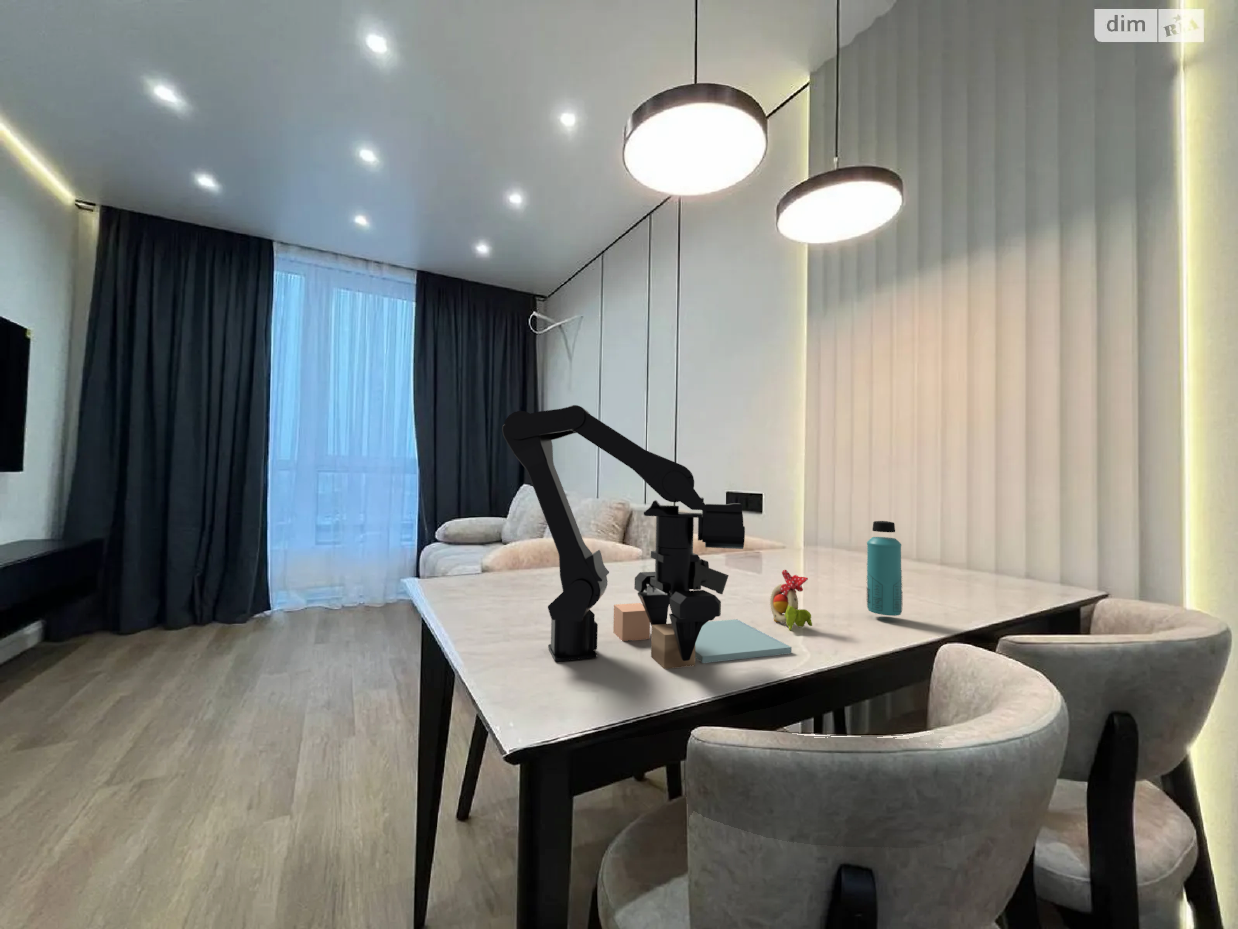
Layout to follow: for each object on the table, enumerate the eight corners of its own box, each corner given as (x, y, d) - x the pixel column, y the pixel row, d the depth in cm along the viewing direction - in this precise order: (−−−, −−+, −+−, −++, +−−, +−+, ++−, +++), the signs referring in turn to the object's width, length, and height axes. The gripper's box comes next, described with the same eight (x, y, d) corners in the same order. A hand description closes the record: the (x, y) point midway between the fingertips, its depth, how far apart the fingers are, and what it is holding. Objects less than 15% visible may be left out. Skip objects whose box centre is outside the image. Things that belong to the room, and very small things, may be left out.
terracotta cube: (622, 641, 82) (622, 612, 82) (613, 632, 87) (613, 604, 87) (649, 639, 84) (650, 610, 84) (639, 630, 88) (639, 603, 89)
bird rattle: (764, 635, 94) (796, 628, 86) (751, 577, 98) (780, 566, 91) (789, 632, 96) (823, 625, 89) (775, 576, 101) (805, 565, 93)
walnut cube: (664, 669, 70) (664, 635, 71) (651, 657, 75) (651, 625, 75) (695, 666, 72) (695, 632, 72) (680, 654, 77) (680, 622, 77)
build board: (702, 663, 73) (702, 656, 73) (660, 630, 88) (660, 625, 88) (791, 653, 78) (791, 647, 78) (737, 624, 93) (737, 619, 93)
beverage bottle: (909, 624, 96) (909, 522, 97) (875, 623, 96) (876, 522, 97) (891, 614, 103) (891, 520, 103) (859, 614, 103) (860, 519, 103)
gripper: (755, 554, 68) (753, 667, 67) (693, 537, 86) (692, 627, 85) (682, 556, 64) (680, 675, 64) (634, 539, 82) (632, 632, 82)
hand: (672, 649), depth 74 cm, fingers open, 9 cm apart
